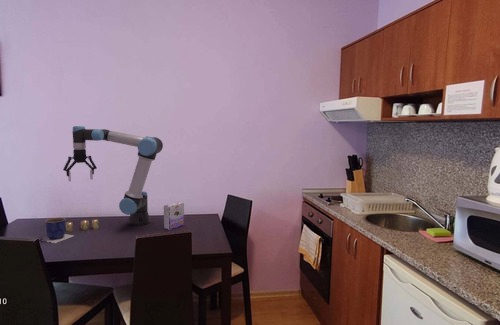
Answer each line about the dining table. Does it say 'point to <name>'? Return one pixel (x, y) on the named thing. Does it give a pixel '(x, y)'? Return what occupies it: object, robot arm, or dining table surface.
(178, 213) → the candy box
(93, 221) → the brass tin
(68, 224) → the brass tin
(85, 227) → the brass tin
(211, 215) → the dining table surface
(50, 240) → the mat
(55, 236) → the planter
